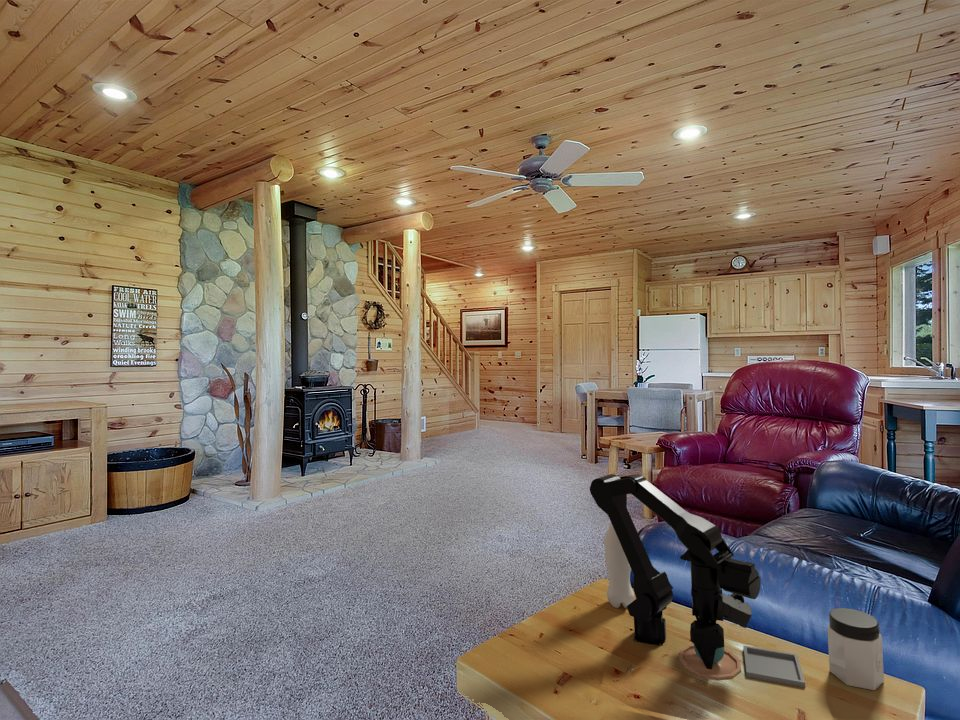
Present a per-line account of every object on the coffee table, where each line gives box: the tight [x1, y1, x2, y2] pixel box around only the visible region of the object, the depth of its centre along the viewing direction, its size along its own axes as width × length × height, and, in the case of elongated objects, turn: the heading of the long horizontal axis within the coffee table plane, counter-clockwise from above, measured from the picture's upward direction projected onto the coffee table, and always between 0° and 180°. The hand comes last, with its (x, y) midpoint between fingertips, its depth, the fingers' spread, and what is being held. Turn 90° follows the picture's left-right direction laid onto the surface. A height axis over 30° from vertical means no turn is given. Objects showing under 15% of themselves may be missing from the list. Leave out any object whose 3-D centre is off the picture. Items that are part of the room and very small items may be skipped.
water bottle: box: [603, 522, 635, 609], centre depth 138 cm, size 7×7×25 cm
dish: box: [678, 643, 742, 681], centre depth 110 cm, size 12×12×1 cm
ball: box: [694, 645, 725, 663], centre depth 110 cm, size 6×6×6 cm
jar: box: [827, 607, 885, 691], centre depth 103 cm, size 9×8×12 cm
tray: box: [743, 645, 806, 688], centre depth 106 cm, size 10×10×2 cm
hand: (709, 656), depth 110 cm, fingers open, 9 cm apart
